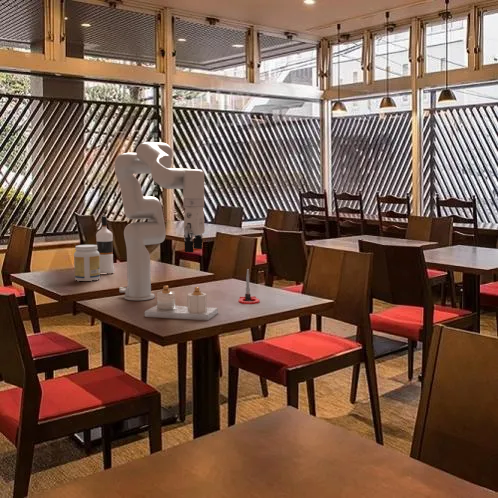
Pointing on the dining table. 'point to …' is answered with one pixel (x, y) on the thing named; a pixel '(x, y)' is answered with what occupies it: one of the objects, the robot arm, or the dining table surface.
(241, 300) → the grey tall post
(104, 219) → the vodka
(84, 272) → the supplement tub
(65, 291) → the dining table surface
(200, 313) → the white tray with jars
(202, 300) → the sleeve
